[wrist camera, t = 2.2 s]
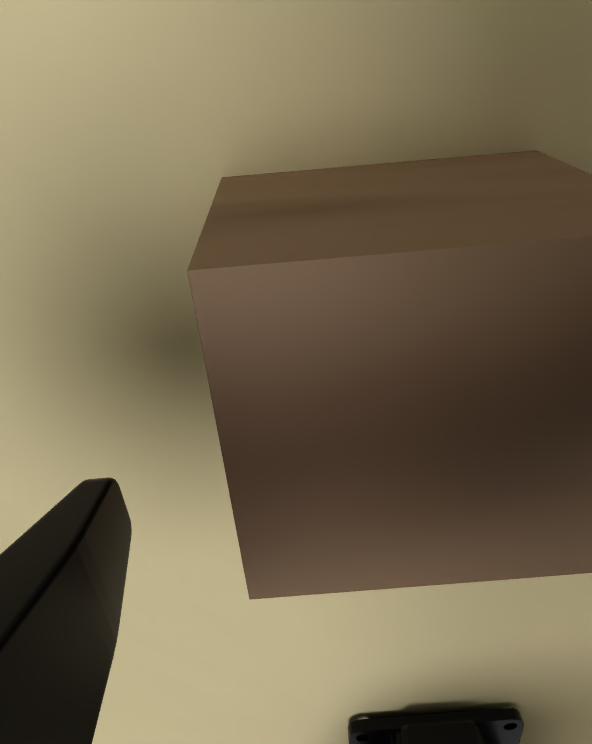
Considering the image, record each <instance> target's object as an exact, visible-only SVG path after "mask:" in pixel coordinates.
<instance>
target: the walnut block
mask: <svg viewBox="0 0 592 744" xmlns="http://www.w3.org/2000/svg"><path fill="white" fill-rule="evenodd" d="M188 276H189V281H190V286H191V292H192V297H193V302H194V308H195V313H196V318H197V323H198V329H199V334H200V339H201V345H202V350H203V355H204V361H205V366H206V371H207V377H208V382H209V387H210V392H211V398H212V403H213V408H214V414H215V419H216V424H217V430H218V435H219V440H220V446H221V451H222V456H223V462H224V467H225V472H226V477H227V483H228V488H229V493H230V499H231V504H232V509H233V515H234V520H235V525H236V531H237V536H238V541H239V546H240V552H241V557H242V562H243V568H244V573H245V578H246V584H247V589H248V594H249V599H261V598H274V597H287V596H300V595H312V594H325V593H338V592H351V591H364V590H377V589H389V588H402V587H415V586H428V585H441V584H454V583H467V582H479V581H492V580H505V579H518V578H531V577H544V576H557V575H569V574H582V573H592V175H590V174H588V173H586V172H584V171H581V170H579V169H577V168H575V167H572V166H570V165H568V164H565V163H563V162H561V161H559V160H556V159H554V158H552V157H550V156H547V155H545V154H543V153H540V152H538V151H525V152H514V153H502V154H490V155H479V156H467V157H455V158H444V159H432V160H420V161H408V162H397V163H385V164H373V165H362V166H350V167H338V168H327V169H315V170H303V171H292V172H280V173H268V174H257V175H245V176H233V177H222V178H221V181H220V184H219V186H218V189H217V192H216V195H215V197H214V200H213V203H212V205H211V208H210V211H209V214H208V216H207V219H206V222H205V224H204V227H203V230H202V233H201V235H200V238H199V241H198V243H197V246H196V249H195V252H194V254H193V257H192V260H191V262H190V265H189V268H188Z"/></svg>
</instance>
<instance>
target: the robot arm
mask: <svg viewBox="0 0 592 744" xmlns="http://www.w3.org/2000/svg"><path fill="white" fill-rule="evenodd" d="M131 530H132V529H131V520H130V517H129V514H128V511H127V508H126V505H125V502H124V499H123V496H122V493H121V490H120V487H119V485H118V483H117V481H116V480H115V479H113V478H98V479H88V480H85V481H83V482H81V483H80V484H79V485H78V486H77V487H76V488H74V489H73V490H72V491H71V492H70V493H69V494H68V495H67V496H65V497H64V498H63V499H62V500H61V501H60V502H59V503H58V504H56V505H55V506H54V507H53V508H52V509H51V510H50V511H49V512H47V513H46V514H45V515H44V516H43V517H42V518H41V519H40V520H38V521H37V522H36V523H35V524H34V525H33V526H32V527H31V528H29V529H28V530H27V531H26V532H25V533H24V534H23V535H22V536H20V537H19V538H18V539H17V540H16V541H15V542H14V543H13V544H12V545H10V546H9V547H8V548H7V549H6V550H5V551H4V552H3V553H1V554H0V744H92V740H93V736H94V732H95V728H96V724H97V720H98V716H99V712H100V708H101V704H102V700H103V696H104V692H105V688H106V684H107V680H108V676H109V672H110V668H111V664H112V660H113V656H114V651H115V647H116V642H117V636H118V630H119V624H120V616H121V609H122V601H123V594H124V587H125V579H126V572H127V564H128V557H129V550H130V542H131ZM523 727H524V723H523V720H522V718H521V715H520V712H519V711H518V710H517V709H513V708H504V709H491V710H478V711H466V712H453V713H440V714H427V715H414V716H401V717H388V718H375V719H362V720H356V721H353V722H351V723H350V724H349V725H348V737H349V744H519V742H520V738H521V734H522V731H523Z"/></svg>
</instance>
